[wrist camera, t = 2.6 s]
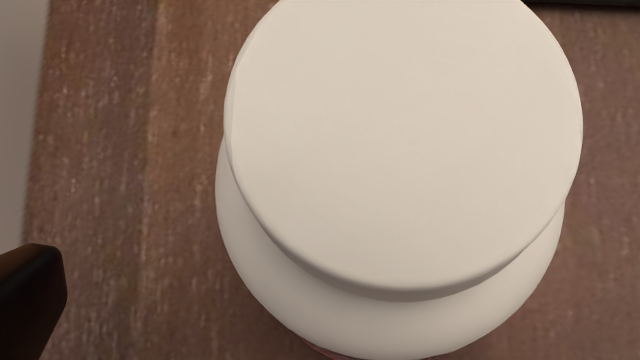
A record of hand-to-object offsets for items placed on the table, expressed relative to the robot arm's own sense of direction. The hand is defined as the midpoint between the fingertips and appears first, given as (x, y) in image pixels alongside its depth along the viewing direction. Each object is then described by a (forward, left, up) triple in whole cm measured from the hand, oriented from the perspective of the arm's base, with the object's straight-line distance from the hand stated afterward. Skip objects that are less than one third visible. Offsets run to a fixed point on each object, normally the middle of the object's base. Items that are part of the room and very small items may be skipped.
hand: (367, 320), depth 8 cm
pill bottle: (+2, +1, -10) cm, 10 cm away
